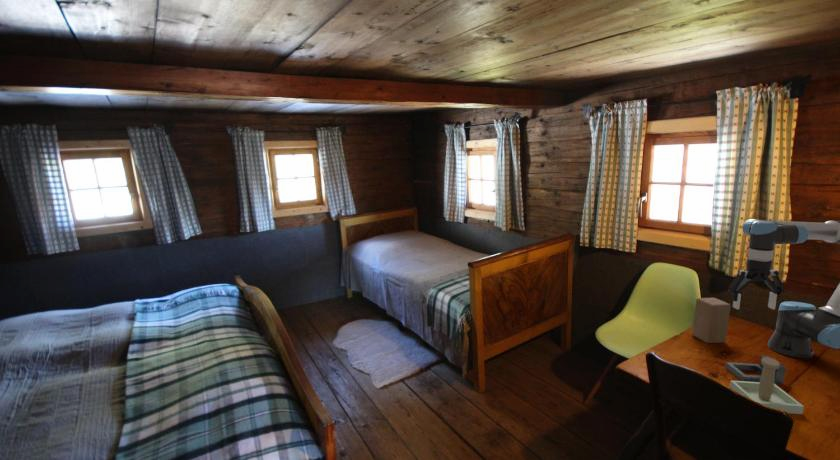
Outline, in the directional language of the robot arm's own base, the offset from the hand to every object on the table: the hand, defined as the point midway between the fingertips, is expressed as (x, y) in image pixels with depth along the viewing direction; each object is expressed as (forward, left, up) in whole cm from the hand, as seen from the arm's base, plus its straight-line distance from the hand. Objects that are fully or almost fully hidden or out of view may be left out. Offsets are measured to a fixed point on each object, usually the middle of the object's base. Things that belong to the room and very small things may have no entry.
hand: (753, 308), depth 158 cm
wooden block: (0, -26, -27) cm, 38 cm away
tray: (+8, +24, -27) cm, 37 cm away
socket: (+1, +7, -27) cm, 28 cm away
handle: (+8, +24, -26) cm, 37 cm away
